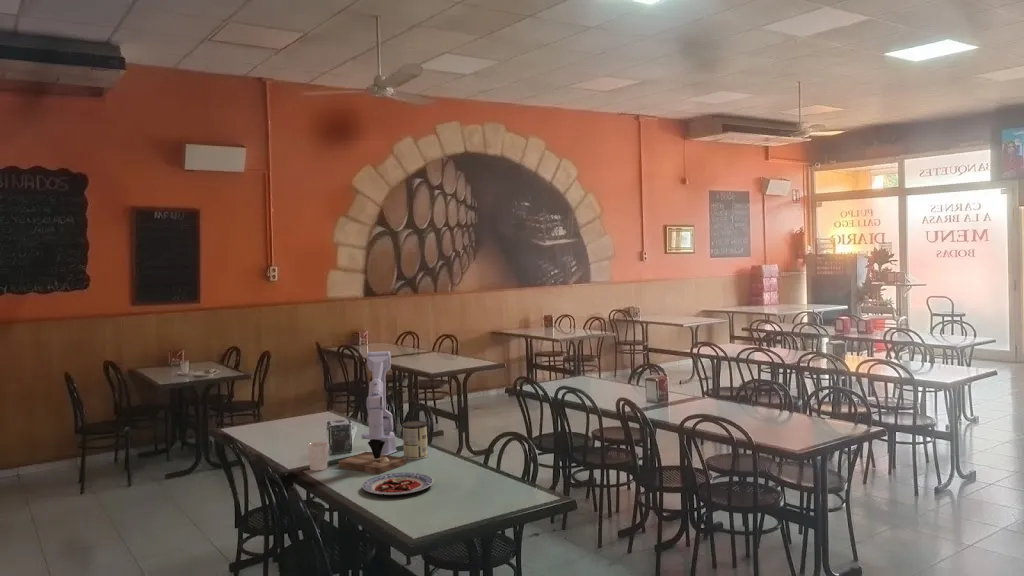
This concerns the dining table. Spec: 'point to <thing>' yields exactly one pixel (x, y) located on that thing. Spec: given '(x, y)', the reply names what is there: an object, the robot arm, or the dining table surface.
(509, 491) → the dining table surface
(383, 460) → the ball
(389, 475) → the ceramic plate
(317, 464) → the white cup
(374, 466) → the board
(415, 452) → the coffee can
